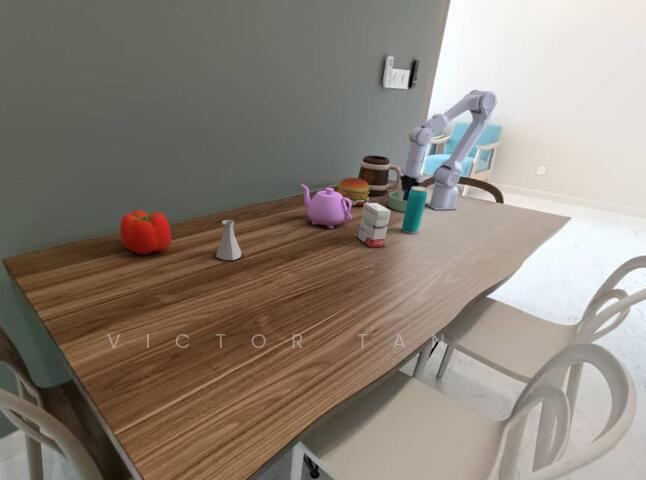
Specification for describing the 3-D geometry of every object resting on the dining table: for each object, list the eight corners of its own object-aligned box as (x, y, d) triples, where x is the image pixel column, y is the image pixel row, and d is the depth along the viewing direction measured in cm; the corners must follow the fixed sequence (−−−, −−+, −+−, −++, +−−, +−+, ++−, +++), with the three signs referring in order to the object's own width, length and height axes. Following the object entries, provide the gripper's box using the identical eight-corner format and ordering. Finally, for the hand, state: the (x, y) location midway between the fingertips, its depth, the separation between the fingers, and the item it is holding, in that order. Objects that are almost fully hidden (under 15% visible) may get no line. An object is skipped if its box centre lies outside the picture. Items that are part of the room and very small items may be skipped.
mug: (349, 192, 175) (354, 157, 168) (359, 185, 187) (364, 152, 179) (394, 200, 168) (401, 164, 161) (401, 193, 180) (408, 159, 172)
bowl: (412, 202, 168) (414, 191, 166) (429, 212, 157) (431, 201, 154) (381, 202, 165) (383, 191, 163) (396, 213, 154) (399, 202, 151)
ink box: (384, 246, 124) (391, 210, 118) (370, 248, 122) (377, 211, 116) (370, 236, 131) (376, 201, 125) (357, 237, 129) (363, 202, 123)
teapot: (289, 221, 138) (291, 187, 132) (307, 211, 149) (309, 179, 143) (342, 234, 131) (347, 198, 125) (356, 222, 142) (362, 188, 135)
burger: (336, 196, 169) (338, 172, 164) (367, 199, 168) (371, 175, 162) (334, 206, 157) (337, 180, 152) (368, 209, 156) (373, 184, 151)
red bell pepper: (112, 253, 108) (106, 217, 103) (143, 237, 119) (139, 203, 113) (154, 263, 104) (150, 226, 99) (182, 246, 115) (179, 211, 110)
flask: (245, 253, 113) (245, 220, 108) (234, 263, 108) (234, 228, 102) (223, 248, 115) (222, 215, 110) (211, 258, 109) (209, 223, 104)
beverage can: (416, 229, 139) (426, 186, 132) (419, 235, 134) (430, 191, 127) (400, 227, 140) (409, 185, 132) (402, 233, 135) (412, 190, 127)
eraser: (410, 198, 161) (412, 189, 160) (415, 200, 158) (417, 191, 157) (397, 198, 160) (399, 189, 158) (401, 200, 157) (403, 191, 155)
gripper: (396, 157, 157) (390, 190, 164) (414, 165, 145) (406, 201, 152) (412, 157, 158) (405, 190, 165) (431, 165, 146) (422, 201, 153)
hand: (407, 196), depth 159 cm, fingers closed on eraser, 3 cm apart
